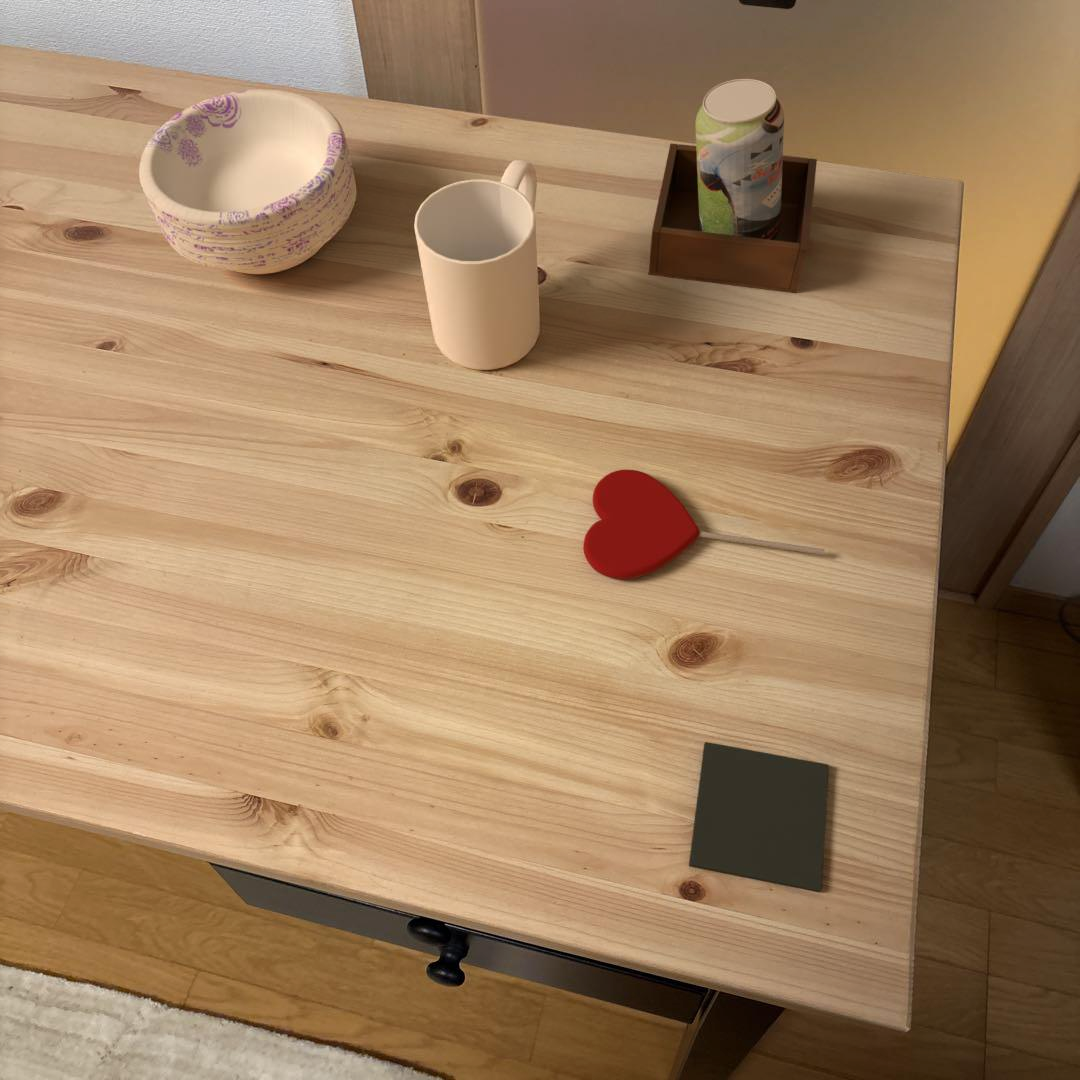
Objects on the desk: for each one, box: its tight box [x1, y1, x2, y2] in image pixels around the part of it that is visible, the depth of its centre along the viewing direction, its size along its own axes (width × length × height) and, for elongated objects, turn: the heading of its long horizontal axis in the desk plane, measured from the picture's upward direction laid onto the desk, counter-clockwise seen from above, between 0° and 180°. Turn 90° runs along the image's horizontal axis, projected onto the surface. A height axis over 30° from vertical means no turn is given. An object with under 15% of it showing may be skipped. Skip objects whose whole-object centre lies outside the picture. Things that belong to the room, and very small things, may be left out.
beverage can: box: [694, 78, 785, 240], centre depth 73 cm, size 6×7×12 cm
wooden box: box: [648, 142, 818, 294], centre depth 76 cm, size 11×10×4 cm
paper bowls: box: [138, 88, 357, 275], centre depth 77 cm, size 15×15×8 cm
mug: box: [413, 159, 541, 371], centre depth 70 cm, size 12×8×10 cm, turn 156°
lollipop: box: [582, 469, 825, 580], centre depth 64 cm, size 8×1×15 cm
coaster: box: [688, 741, 830, 893], centre depth 55 cm, size 7×7×1 cm
